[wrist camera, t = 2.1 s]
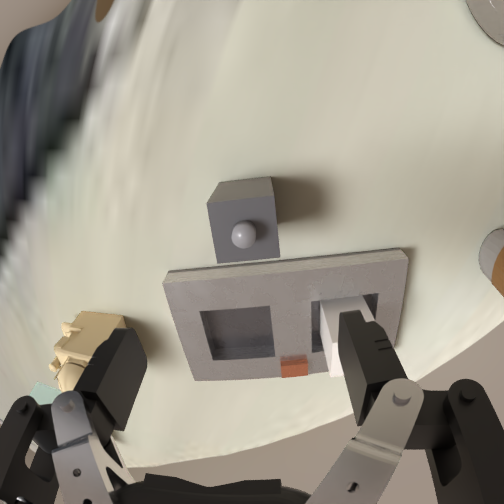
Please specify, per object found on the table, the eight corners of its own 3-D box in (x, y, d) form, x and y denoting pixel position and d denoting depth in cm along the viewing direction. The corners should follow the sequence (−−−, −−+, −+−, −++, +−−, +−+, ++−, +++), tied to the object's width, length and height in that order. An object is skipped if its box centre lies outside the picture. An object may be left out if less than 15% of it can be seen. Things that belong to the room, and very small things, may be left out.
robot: (83, 353, 37) (39, 432, 23) (66, 307, 34) (6, 387, 20) (148, 363, 37) (114, 457, 23) (134, 315, 33) (84, 415, 20)
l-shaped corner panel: (37, 380, 42) (21, 408, 35) (89, 399, 42) (74, 432, 35) (56, 415, 47) (44, 441, 40) (104, 432, 47) (93, 461, 40)
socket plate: (168, 271, 31) (159, 287, 28) (399, 247, 29) (412, 261, 26) (198, 366, 36) (193, 385, 33) (384, 347, 35) (392, 365, 32)
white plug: (319, 298, 31) (335, 352, 24) (361, 293, 31) (386, 344, 23) (319, 332, 33) (332, 386, 25) (358, 326, 33) (378, 378, 25)
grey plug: (219, 182, 27) (203, 208, 19) (270, 176, 26) (275, 200, 19) (226, 229, 29) (215, 271, 21) (275, 224, 28) (281, 264, 21)
